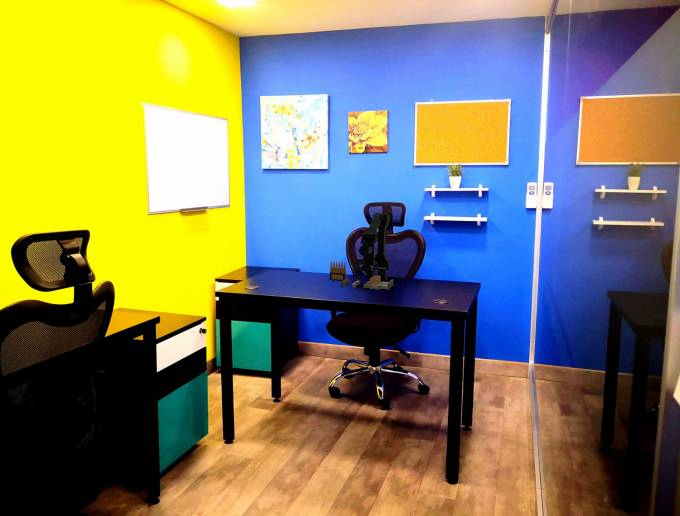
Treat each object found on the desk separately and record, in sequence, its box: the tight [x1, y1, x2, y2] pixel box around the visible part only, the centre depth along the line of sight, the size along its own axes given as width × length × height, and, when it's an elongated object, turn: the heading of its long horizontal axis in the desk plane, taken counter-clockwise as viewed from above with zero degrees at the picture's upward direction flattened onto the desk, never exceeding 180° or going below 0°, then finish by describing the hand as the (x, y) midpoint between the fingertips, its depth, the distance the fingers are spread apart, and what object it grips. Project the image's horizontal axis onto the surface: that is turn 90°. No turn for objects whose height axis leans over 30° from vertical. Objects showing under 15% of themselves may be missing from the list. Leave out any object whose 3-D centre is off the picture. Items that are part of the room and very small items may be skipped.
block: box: [370, 275, 381, 285], centre depth 307 cm, size 10×4×4 cm, turn 165°
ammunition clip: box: [328, 260, 347, 282], centre depth 324 cm, size 11×2×12 cm, turn 63°
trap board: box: [341, 277, 394, 291], centre depth 308 cm, size 13×27×4 cm, turn 75°
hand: (369, 281), depth 308 cm, fingers closed
